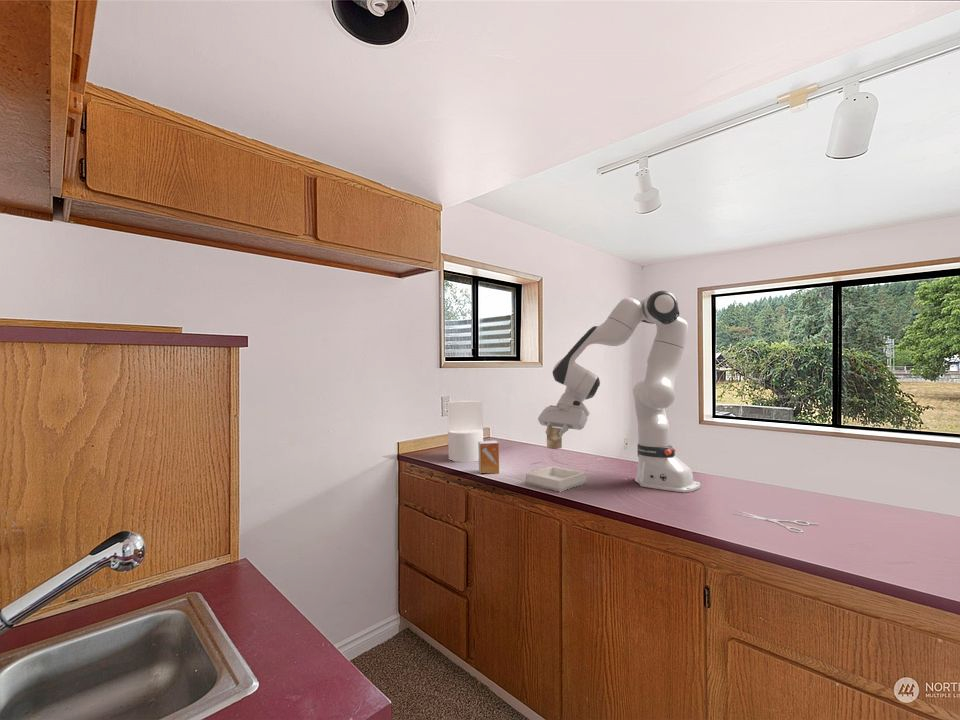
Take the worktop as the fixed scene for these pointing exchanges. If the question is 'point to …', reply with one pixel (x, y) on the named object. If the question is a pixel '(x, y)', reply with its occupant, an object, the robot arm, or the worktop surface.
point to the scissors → (781, 521)
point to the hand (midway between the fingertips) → (553, 434)
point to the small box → (488, 456)
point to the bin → (555, 478)
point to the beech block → (553, 438)
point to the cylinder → (464, 429)
